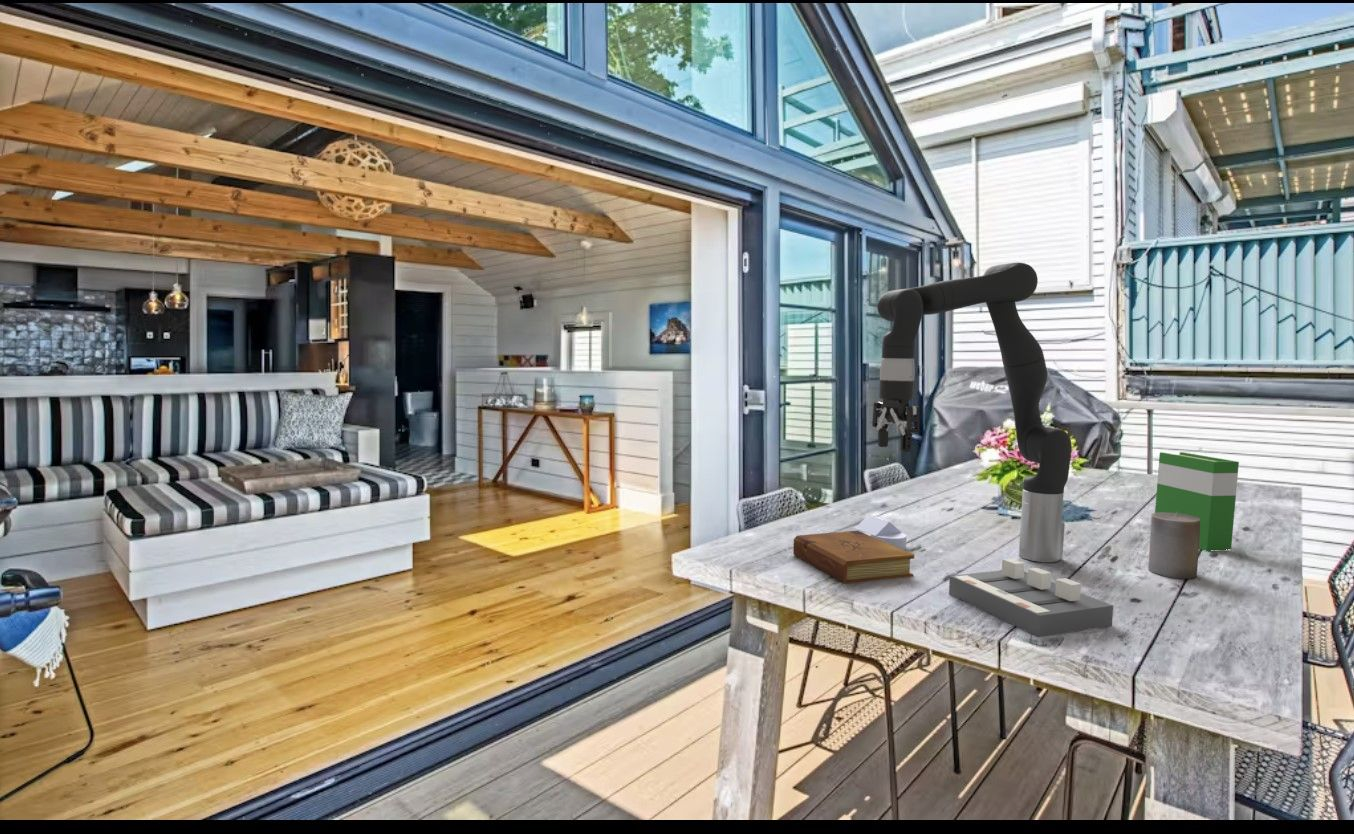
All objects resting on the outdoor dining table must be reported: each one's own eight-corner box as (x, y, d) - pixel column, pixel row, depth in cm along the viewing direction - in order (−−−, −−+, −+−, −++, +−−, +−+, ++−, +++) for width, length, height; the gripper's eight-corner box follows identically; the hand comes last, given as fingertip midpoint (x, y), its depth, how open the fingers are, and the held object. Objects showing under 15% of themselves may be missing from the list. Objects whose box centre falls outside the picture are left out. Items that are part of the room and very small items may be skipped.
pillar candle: (1194, 571, 173) (1198, 509, 172) (1199, 581, 164) (1203, 517, 163) (1146, 565, 178) (1150, 505, 177) (1148, 575, 169) (1152, 512, 168)
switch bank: (1015, 586, 160) (1016, 567, 159) (1111, 625, 137) (1113, 604, 137) (948, 594, 154) (949, 575, 154) (1038, 636, 131) (1039, 614, 131)
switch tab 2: (1036, 582, 148) (1037, 567, 148) (1050, 588, 145) (1051, 573, 144) (1027, 584, 147) (1028, 568, 147) (1041, 589, 144) (1042, 574, 144)
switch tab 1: (1010, 572, 155) (1011, 558, 154) (1023, 577, 151) (1024, 563, 151) (1001, 573, 154) (1002, 559, 154) (1014, 578, 151) (1015, 564, 150)
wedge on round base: (854, 540, 197) (886, 552, 185) (855, 516, 196) (887, 527, 185) (880, 537, 201) (913, 549, 189) (881, 513, 200) (914, 524, 188)
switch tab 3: (1064, 593, 142) (1065, 578, 141) (1080, 600, 138) (1081, 583, 138) (1055, 595, 141) (1056, 579, 141) (1070, 601, 137) (1071, 585, 137)
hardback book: (1153, 534, 208) (1159, 452, 206) (1175, 533, 209) (1182, 452, 207) (1206, 551, 191) (1214, 462, 188) (1230, 550, 192) (1238, 461, 189)
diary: (793, 558, 181) (793, 535, 181) (856, 552, 188) (857, 530, 187) (843, 585, 160) (844, 560, 159) (913, 578, 166) (914, 553, 165)
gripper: (931, 379, 158) (927, 453, 159) (891, 377, 171) (889, 444, 173) (902, 380, 155) (899, 454, 157) (864, 377, 169) (862, 445, 170)
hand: (893, 449), depth 165 cm, fingers open, 8 cm apart
